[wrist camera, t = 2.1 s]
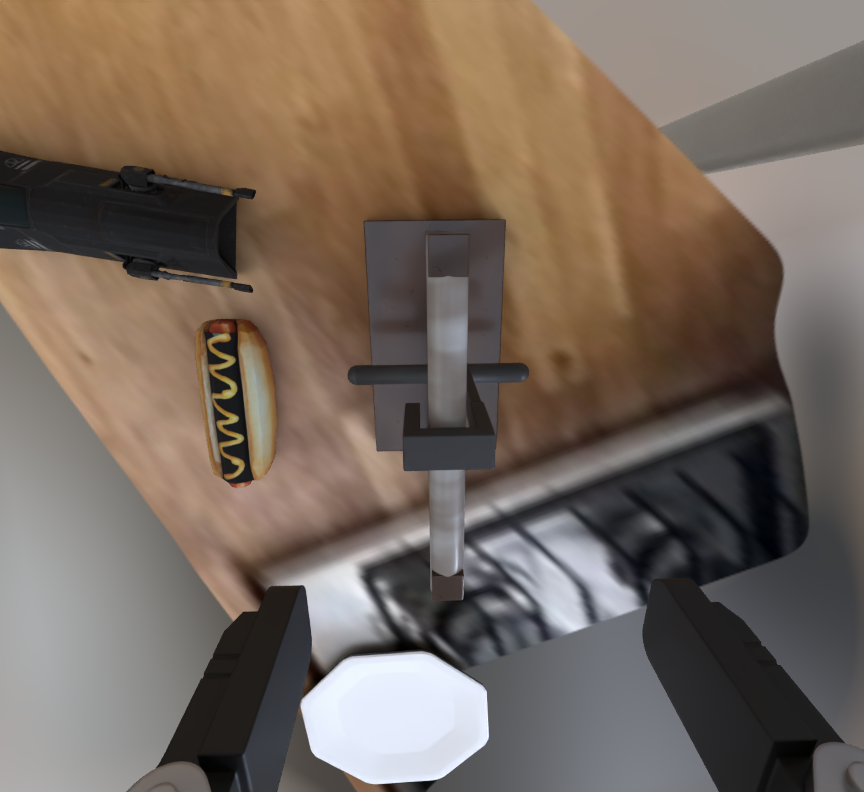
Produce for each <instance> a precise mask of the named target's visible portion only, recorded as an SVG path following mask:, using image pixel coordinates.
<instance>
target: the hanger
mask: <svg viewBox="0 0 864 792" xmlns="http://www.w3.org/2000/svg"><path fill="white" fill-rule="evenodd" d="M528 376H529V369H528V367H527V366H526V365H525V364H523V363H477V364H468V363H467V392H466V415H467V419H468V423H469V427H459V428H420V403H405V411H404V423H403V437H402V438H403V467H404V471H435V470H481V469H494V467H495V445H496V434H495V432H494V428H493V426H492V423H491V420H490V418H489V415H488V412H487V410H486V407H485V404H484V402H481V399H480V396H479V393H478V391H477V388H476V385H475V383H500V382H523V381H525V380H526V379H527V378H528ZM348 379H349V381H350V382H351V383H352V384H355V385H385V384H428V364H417V365H357V366H353V367H351V368H350V369H349V371H348Z"/></svg>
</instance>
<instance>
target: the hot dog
mask: <svg viewBox="0 0 864 792" xmlns="http://www.w3.org/2000/svg"><path fill="white" fill-rule="evenodd" d="M195 357H196V365H197V372H198V380H199V387H200V394H201V402H202V409H203V416H204V423H205V430H206V437H207V444H208V451H209V457H210V461H211V466H212V470H213V473H214V475H216V476H218V477H220V478H222V479H224V480H225V481H227V482H229V484H230V485H231V486H232V487H235V488H242V487H246V486H248V485H249V484H251V481H252V480H259V479H260V478H262V477H263V476H264V475H265V474H267V472H268V471H269V469H270V467H271V464H272V462H273V459H274V457H275V454H276V431H277V409H276V396H275V384H274V376H273V371H272V367H271V362H270V358H269V353H268V348H267V344H266V341H265V340H264V338H263V336H262V335H261V333H260V331H259V330H258V328H257V327H256V326H255V325H254V324H253V323H252V322H251V321H249V320H236V319H217V320H210V321H207V322H205V323H204V324H203V325H202V326H201V327H200V328H199V329H198V330H197V331H196V337H195Z"/></svg>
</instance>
